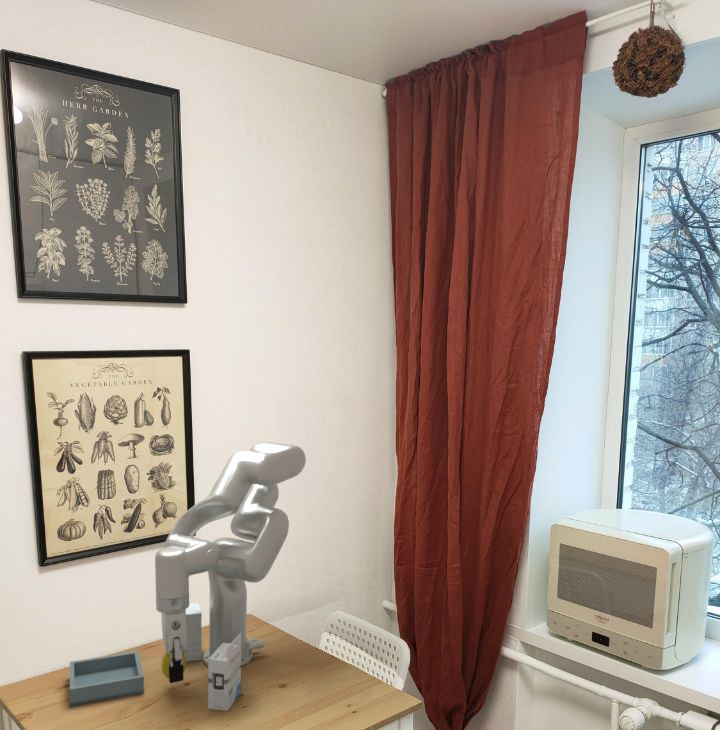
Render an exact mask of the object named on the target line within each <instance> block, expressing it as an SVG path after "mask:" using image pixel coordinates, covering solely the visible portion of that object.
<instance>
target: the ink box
mask: <svg viewBox="0 0 720 730" xmlns="http://www.w3.org/2000/svg"><path fill="white" fill-rule="evenodd" d="M234 643H237V644H234ZM207 667H208V668H207V671H208V673H207V677H208V678H207V679H208V680H207V682H208V683H207V709H209V710H215V711H224V712H228V711H230V710H229V709H231V707H232V706H233V704H234V703H235V701H236V700H237V698H238V697H239V696H240V694H241V692H242V691H241V689H242V687H241V686H242V666H241V633H240V634H239V635H238V636H237V637H236V638H235V639H234V640H233V642H232V643H231V644H230V643H222V644H221V645H220V646H219V647H218V649H217V650H216V651H215V652H214V653H213V654H212V655H211V656H210V657H209V659H208V666H207Z"/></svg>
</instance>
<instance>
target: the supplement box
mask: <svg viewBox="0 0 720 730" xmlns="http://www.w3.org/2000/svg"><path fill="white" fill-rule="evenodd" d="M200 607H201V606H200V604H199V602H192V603H189V607H188V608H187V609H185V610H186V618H187V634H188V651H187V652H183V653H184V654H185V658H186V663H187V662H194V661H199V660H202V622H203V621H202V616H203V615H202V611H201V608H200ZM182 651H183V650H182Z"/></svg>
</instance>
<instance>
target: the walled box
mask: <svg viewBox="0 0 720 730" xmlns="http://www.w3.org/2000/svg"><path fill="white" fill-rule="evenodd" d="M144 677H145V676H144V672H143V668H142V662H141V657H140V653H139V650H135V651H129V652H123V653H118V654H117V653H116V654H111V655H104V656H98V657H97V656H96V657H92V658H86V659H79V660H73V661H72V660H71V661H69V707H70V708H71V707H77V706H83V705H88V704H93V703H99V702H104V701H110V700H115V699H120V698H121V699H122V698H126V697H132V696H136V695H137V694H138V695H142V694H144V693H145V692H144V691H145V685H144V684H145V679H144ZM138 695H137V696H138Z"/></svg>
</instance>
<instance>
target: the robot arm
mask: <svg viewBox="0 0 720 730" xmlns="http://www.w3.org/2000/svg"><path fill="white" fill-rule="evenodd" d="M306 458H307V457H306V454H305V452H304V450H303V449H302V448H301V447H300V446H297V445H295V444H294V445H293V444H286V443H279V442H278V443H277V442H270V441H263V442H257V443H255V444H253V446H251V448H250V450H238V451H235V452H234V453H232V454H231V455H230V457H229V459H228V461H227V462H226V463H225V466H224V467H223V469H222V471H221V472H220V475H219V476H218V478H217V480H216V482H215V483H214V485H213V487H212V489H211V490H210V492H209V494H208V495H207V496H206V497H205V498H203V499H202V500H200V501H199V502H197V503H195V504H194V505H193V506H192V507H190V508H189V509H188V510H187V511H185V512H184V513H182V515H181V516H180V517H179V518H178V519H177V520H176V522H175V524H174V526H172V527H173V528H172V529H171V530H170V532H169V534H168V536H167V538H166V539H165V542H164V546H163V548H160V549H159V550H158V551H157V552H156V554H155V556H154V562H155V563H154V568H155V571H154V573H155V577H154V578H155V609H156V611H157V612H159V613H160V614H161V634H162V641H163V644H164V648H165V653H166V652H167V654H168V655H170V666H169V678H168V682H169V684H173V683H178V682H183V681H184V677H185V675H184V673H183V660H182V650H183V652H187V651H188V634H187V618H186V610H185V609H187V608H188V607H189V604H190V582H189V581H190V580H189V578H190V577H191V576H193V575H198V574H199V575H200V574H203V573H206V572H207V574H208V575H207V576H208V582H209V624H208V625H209V626H208V627H209V632H208V633H209V635H208V636H209V637H208V638H209V643H208V646H209V648H208V649H207V650H206V651H205V652H204V653H203V655H202V661H203V663H204V664H205V665H206V666H207V667H208V659H209V657H210V656H211V655H212V654H213V653H214V652H215V651H216V650H217V649H218V647H219V646H220V645H221V644H222V643H230V644H231V643H232V642H233V640H234V639H235V638H236V637H237V636H238V635H239V634H240V633H241V667H243V666H245V665H247V664H249V662H250V661H251V660H252V658H253V651H254V650H256V649H257V650H258V649H263V648H264V649H265V640H264V639H263V640H258V638H257V637H256V638H254V637H253V638H250V639H249V638H248V637H247V625H248V624H247V622H248V621H247V619H248V618H247V616H248V614H247V612H248V611H247V609H248V606H247V605H248V604H247V603H248V589H247V585H246V582H247V583H253V584H255V583H256V584H257V583H259V582H262V581H263V580H264V579H265V578H266V577H267V575H268V574H269V572H270V571H271V568H273V565H274V563H275V561H276V560H277V557H278V556H279V554H280V551H281V550H282V548H283V546H284V543H285V542H286V540H287V537H288V534H289V527H290V522H289V521H290V520H289V517H288V515H287V513H286V512H285V511H284V510H282V509H281V508H280V509H279V508H276V507H275V506H276V503H277V502H278V499H279V495H280V493H279V486H278V484H280V483H284V482H286V481H287V480H291V479H293V478H295V477H297V476H299V474H301V473H302V471H303V470H304V468H305V465H306ZM231 516H233V517H232V519H231V521H230V530H231V533H232V534H233V535H234V536H236V537H238V538H240V539H237V538H235V537H219V538H216V539H214V540H213V541H210V540H208V539H207V540H206V539H203V538H202V539H201V538H199V537H194V536H195V535H196V533H197V532H198V531H199V530H200V529H202V528H203V527H204V526H206V525H207V524H210V523H212V522H215V521H219V520H221V519H224V518H227V517H231ZM234 644H237V643H234ZM171 650H174V652H171ZM172 655H175V658H172Z"/></svg>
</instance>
